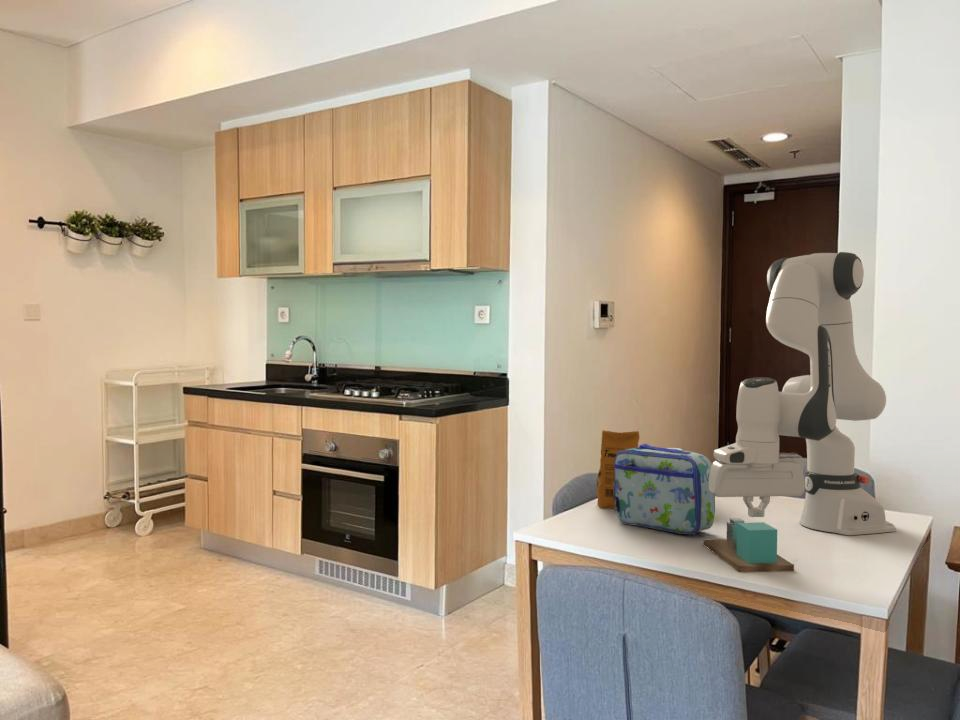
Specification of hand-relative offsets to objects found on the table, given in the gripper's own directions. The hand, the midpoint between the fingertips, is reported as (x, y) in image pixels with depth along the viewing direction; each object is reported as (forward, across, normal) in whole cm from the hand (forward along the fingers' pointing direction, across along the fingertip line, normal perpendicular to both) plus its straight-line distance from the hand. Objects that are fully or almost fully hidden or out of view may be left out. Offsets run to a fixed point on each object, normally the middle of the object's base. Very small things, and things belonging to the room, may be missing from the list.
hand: (756, 516), depth 160 cm
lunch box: (+11, +11, -31) cm, 35 cm away
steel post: (+9, 0, -10) cm, 14 cm away
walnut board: (+10, 0, -5) cm, 12 cm away
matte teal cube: (+9, 0, 0) cm, 9 cm away
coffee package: (+11, +16, -55) cm, 58 cm away
